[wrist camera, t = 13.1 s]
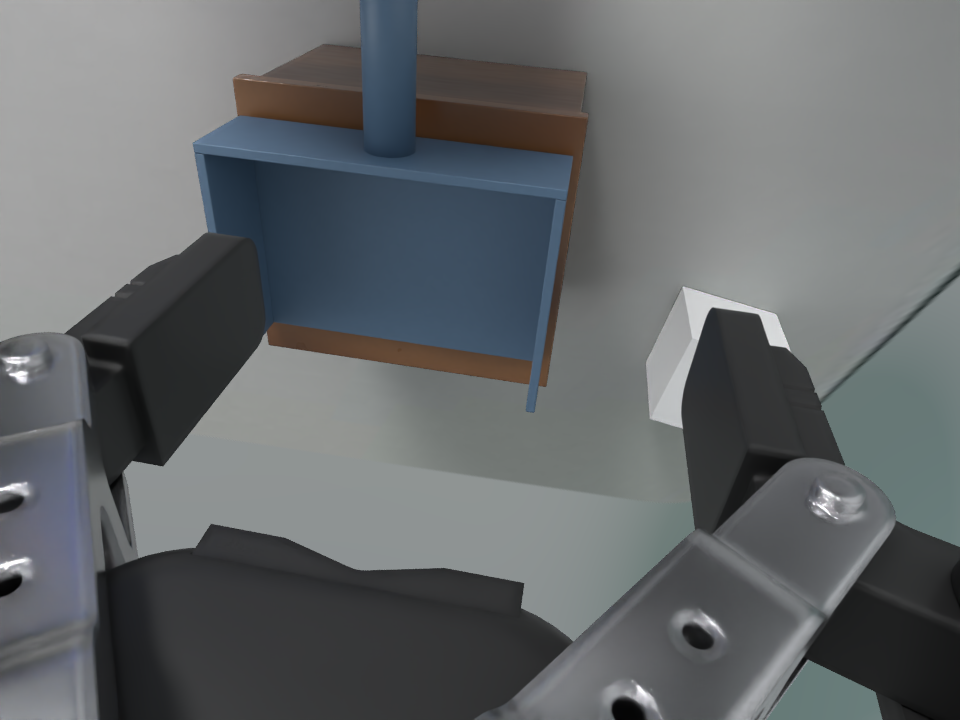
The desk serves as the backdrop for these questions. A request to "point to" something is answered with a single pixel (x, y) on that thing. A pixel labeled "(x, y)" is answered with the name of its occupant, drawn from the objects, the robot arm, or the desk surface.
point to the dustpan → (393, 216)
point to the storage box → (444, 116)
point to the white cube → (689, 349)
